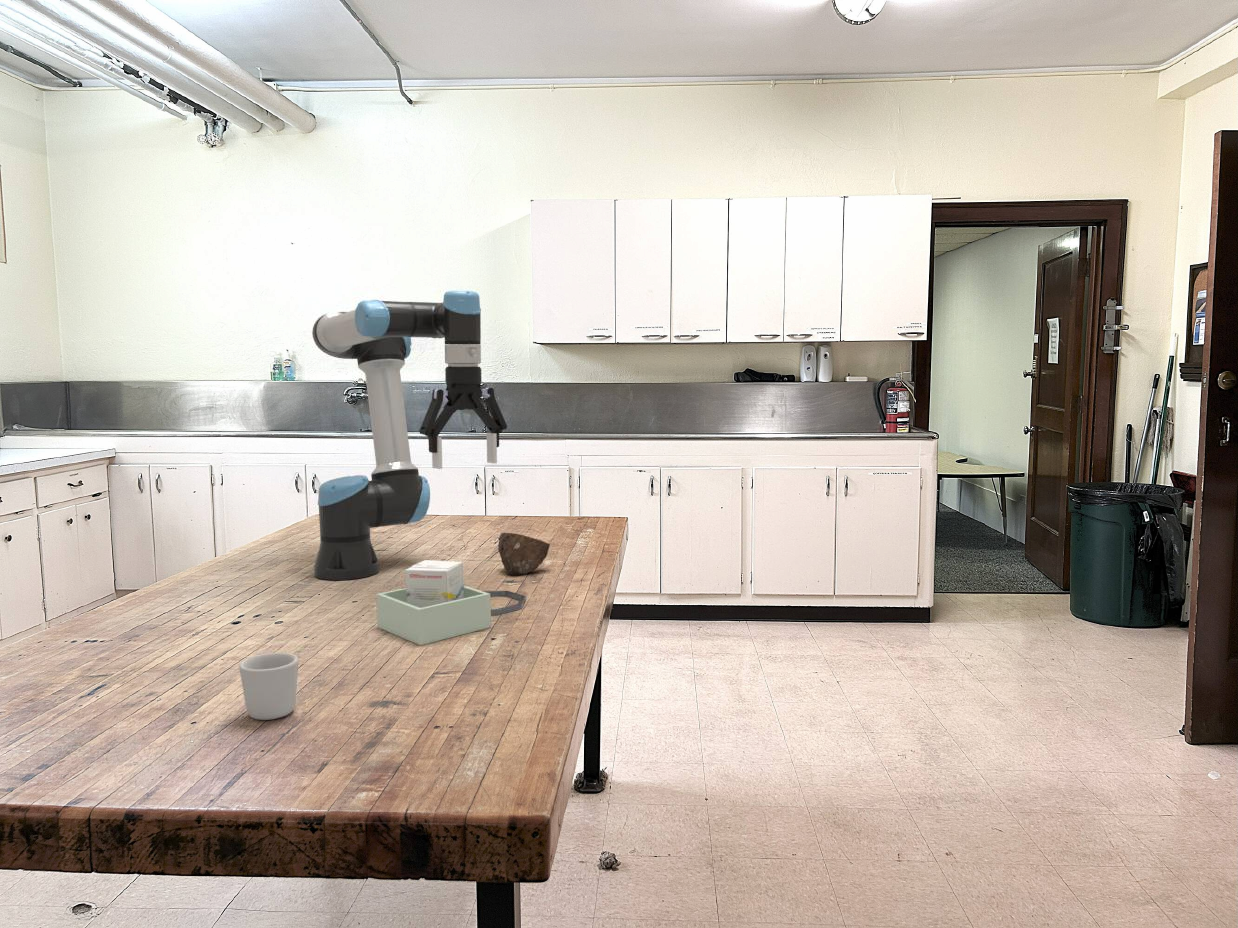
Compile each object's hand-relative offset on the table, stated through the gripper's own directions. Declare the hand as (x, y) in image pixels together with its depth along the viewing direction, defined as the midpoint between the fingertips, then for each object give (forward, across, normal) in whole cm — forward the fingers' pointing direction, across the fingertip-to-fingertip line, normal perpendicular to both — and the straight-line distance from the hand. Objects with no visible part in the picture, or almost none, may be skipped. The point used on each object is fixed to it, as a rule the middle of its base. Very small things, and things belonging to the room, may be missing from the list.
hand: (465, 465), depth 189 cm
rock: (+29, +22, +11) cm, 38 cm away
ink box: (+28, -16, -14) cm, 36 cm away
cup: (+28, -55, -34) cm, 71 cm away
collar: (+29, 0, -8) cm, 30 cm away
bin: (+29, -17, -14) cm, 36 cm away
